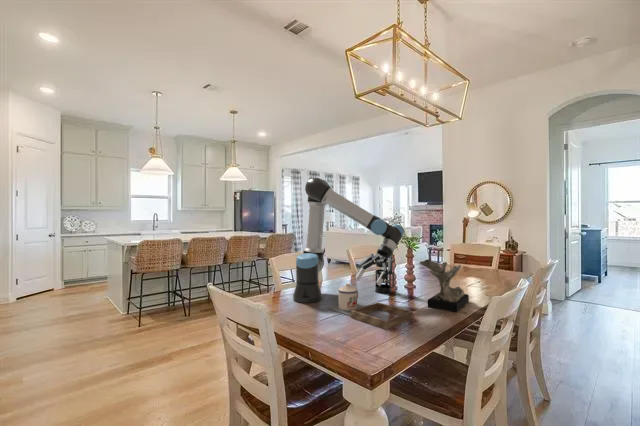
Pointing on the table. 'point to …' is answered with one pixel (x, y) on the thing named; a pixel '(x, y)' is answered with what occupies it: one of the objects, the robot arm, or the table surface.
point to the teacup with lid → (348, 298)
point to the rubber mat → (336, 308)
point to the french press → (384, 281)
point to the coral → (446, 288)
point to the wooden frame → (361, 315)
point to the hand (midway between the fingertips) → (367, 281)
